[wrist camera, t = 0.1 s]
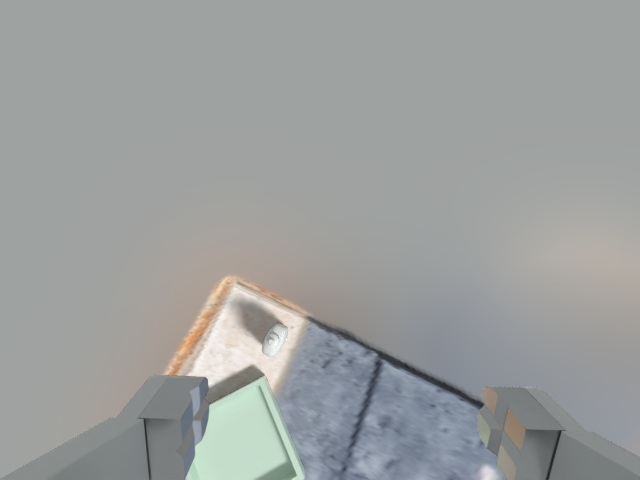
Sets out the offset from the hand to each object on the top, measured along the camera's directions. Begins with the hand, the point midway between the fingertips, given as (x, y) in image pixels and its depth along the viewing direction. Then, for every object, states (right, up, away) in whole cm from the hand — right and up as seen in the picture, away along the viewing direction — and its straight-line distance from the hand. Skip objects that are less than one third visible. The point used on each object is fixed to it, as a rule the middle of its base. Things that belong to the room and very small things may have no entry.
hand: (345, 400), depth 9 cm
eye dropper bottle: (-9, -15, +52) cm, 55 cm away
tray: (-15, -33, +46) cm, 59 cm away
